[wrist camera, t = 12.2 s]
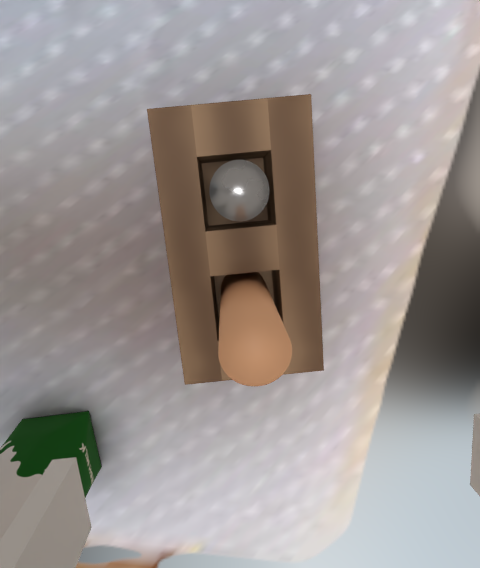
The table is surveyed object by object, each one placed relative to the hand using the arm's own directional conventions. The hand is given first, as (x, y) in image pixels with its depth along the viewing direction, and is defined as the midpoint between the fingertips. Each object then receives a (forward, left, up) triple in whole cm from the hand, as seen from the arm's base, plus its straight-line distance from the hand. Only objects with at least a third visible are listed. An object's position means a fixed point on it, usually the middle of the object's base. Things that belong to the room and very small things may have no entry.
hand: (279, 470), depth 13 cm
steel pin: (0, +9, -25) cm, 27 cm away
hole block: (0, +5, -26) cm, 27 cm away
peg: (0, 0, -25) cm, 25 cm away
